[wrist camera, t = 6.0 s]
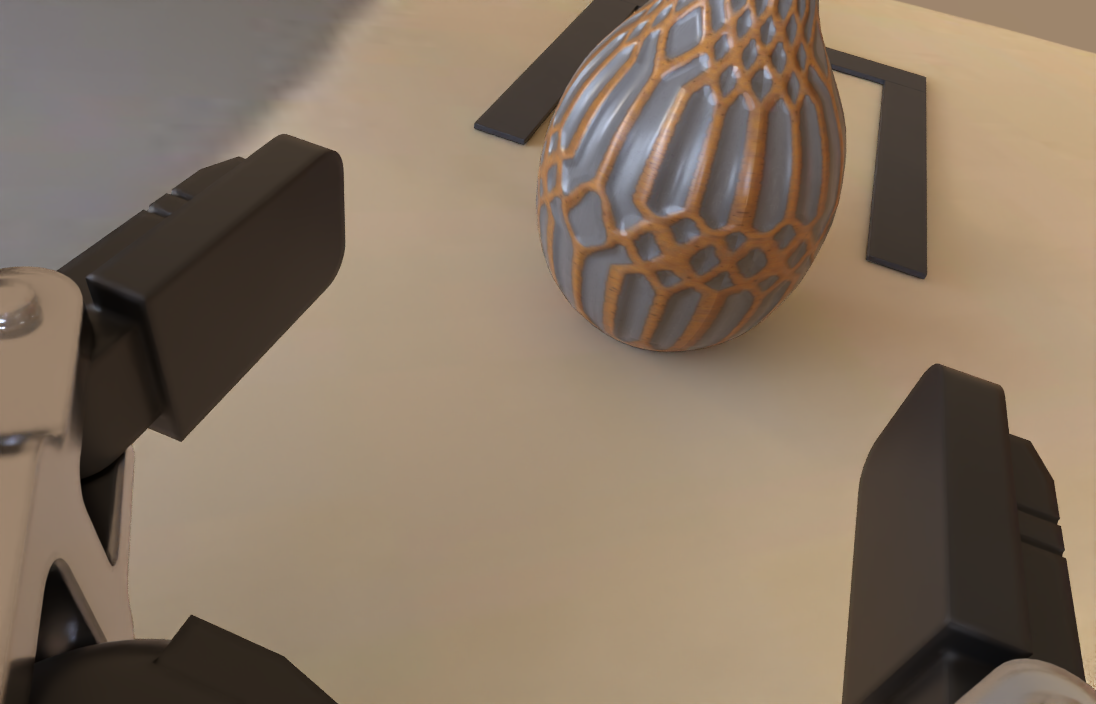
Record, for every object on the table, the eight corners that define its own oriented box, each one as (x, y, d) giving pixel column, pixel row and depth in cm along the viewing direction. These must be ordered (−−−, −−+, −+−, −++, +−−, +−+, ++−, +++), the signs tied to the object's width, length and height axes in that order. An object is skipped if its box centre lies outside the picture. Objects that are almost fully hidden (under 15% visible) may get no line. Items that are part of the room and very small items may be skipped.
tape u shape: (473, 128, 26) (474, 122, 26) (609, -14, 37) (611, -18, 37) (924, 279, 24) (927, 274, 24) (924, 81, 35) (926, 77, 35)
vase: (726, 227, 24) (845, -82, 18) (812, 394, 20) (1011, 53, 13) (504, 218, 23) (554, -122, 17) (539, 397, 18) (627, 13, 12)
